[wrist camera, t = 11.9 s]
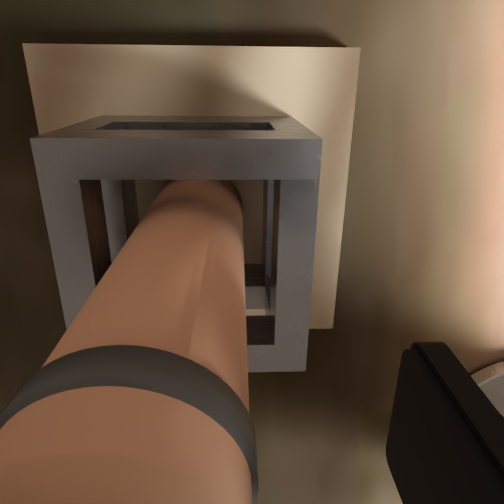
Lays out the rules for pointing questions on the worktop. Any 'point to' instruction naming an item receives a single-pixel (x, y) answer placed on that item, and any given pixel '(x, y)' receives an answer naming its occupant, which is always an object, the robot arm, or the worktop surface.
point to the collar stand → (201, 165)
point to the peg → (147, 372)
